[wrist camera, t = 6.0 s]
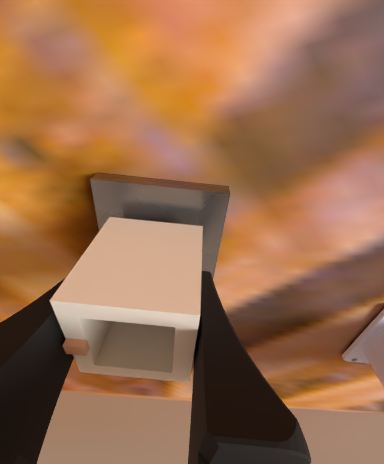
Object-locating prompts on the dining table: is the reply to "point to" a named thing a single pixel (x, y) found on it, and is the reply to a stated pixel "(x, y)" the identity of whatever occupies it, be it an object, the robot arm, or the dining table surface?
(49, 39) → the dining table surface
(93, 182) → the shaft block
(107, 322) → the square tube cup
